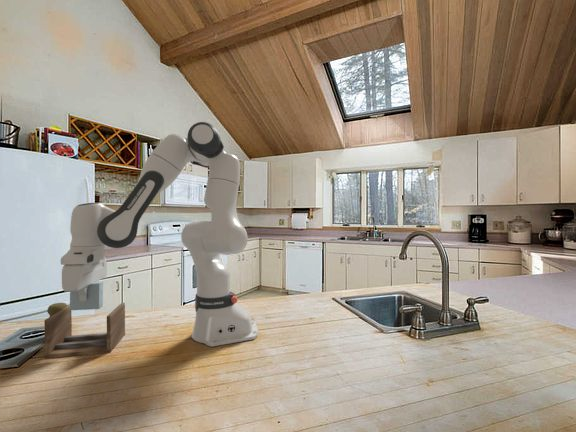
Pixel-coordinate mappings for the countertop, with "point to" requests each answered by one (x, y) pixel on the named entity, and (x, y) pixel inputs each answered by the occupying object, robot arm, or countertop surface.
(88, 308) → the door panel
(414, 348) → the countertop surface
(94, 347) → the cabinet
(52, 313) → the cork
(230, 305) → the robot arm
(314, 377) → the countertop surface
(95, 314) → the countertop surface
